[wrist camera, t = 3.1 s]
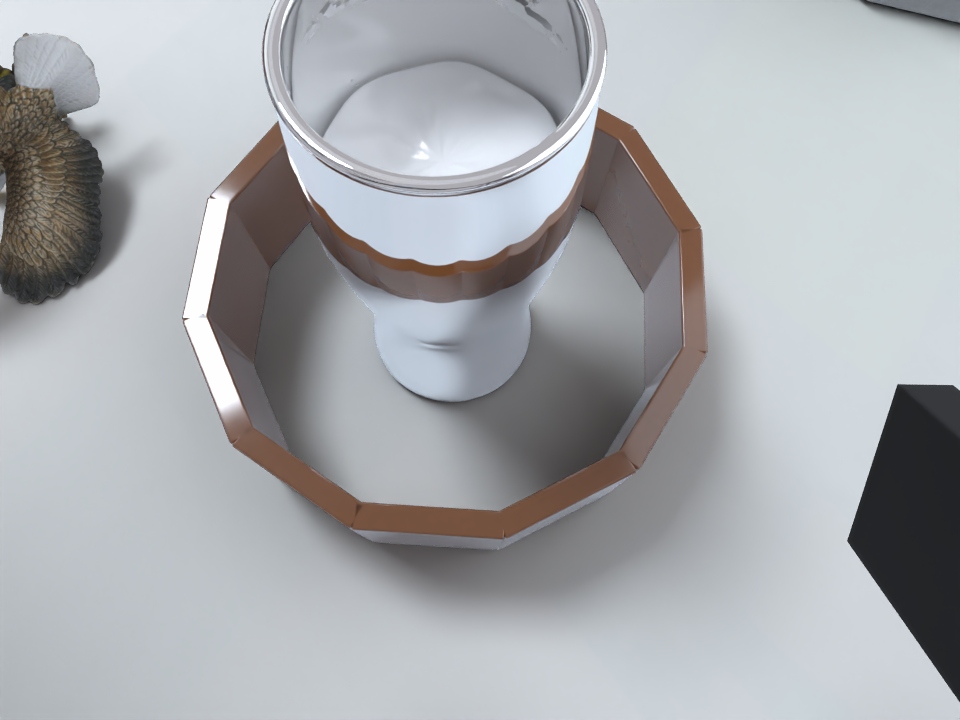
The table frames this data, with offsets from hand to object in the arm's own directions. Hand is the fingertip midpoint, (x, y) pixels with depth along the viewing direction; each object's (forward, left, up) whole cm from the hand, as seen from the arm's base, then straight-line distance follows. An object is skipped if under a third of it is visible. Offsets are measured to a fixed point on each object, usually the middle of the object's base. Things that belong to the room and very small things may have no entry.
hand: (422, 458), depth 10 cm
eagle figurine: (+2, +22, -16) cm, 27 cm away
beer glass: (+7, +4, -16) cm, 18 cm away
